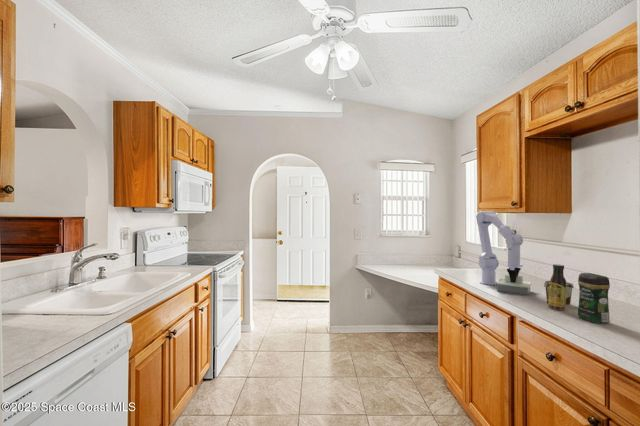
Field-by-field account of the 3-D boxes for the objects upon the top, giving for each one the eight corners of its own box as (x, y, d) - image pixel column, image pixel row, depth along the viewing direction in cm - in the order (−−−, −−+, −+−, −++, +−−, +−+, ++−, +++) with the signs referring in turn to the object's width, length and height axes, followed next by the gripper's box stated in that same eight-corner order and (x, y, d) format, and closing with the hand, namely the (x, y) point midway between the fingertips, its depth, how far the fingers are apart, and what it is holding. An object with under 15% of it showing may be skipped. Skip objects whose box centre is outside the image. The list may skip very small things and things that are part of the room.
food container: (565, 301, 157) (565, 280, 157) (573, 305, 151) (573, 283, 151) (538, 300, 158) (538, 280, 158) (545, 304, 152) (545, 282, 152)
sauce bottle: (544, 307, 146) (545, 263, 147) (554, 306, 149) (554, 263, 149) (560, 311, 140) (560, 266, 140) (569, 310, 143) (569, 265, 143)
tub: (501, 287, 186) (501, 280, 186) (530, 291, 178) (530, 283, 178) (497, 291, 177) (497, 284, 177) (527, 295, 168) (527, 287, 168)
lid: (500, 280, 187) (500, 272, 187) (531, 283, 178) (531, 276, 178) (496, 284, 177) (496, 276, 177) (528, 288, 168) (528, 279, 168)
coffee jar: (573, 316, 134) (573, 271, 134) (591, 316, 134) (591, 271, 134) (595, 324, 124) (595, 276, 124) (614, 324, 125) (614, 276, 125)
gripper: (520, 258, 169) (520, 284, 169) (524, 256, 181) (524, 280, 181) (505, 257, 174) (505, 283, 174) (509, 255, 185) (509, 278, 185)
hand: (513, 281), depth 177 cm, fingers open, 5 cm apart
